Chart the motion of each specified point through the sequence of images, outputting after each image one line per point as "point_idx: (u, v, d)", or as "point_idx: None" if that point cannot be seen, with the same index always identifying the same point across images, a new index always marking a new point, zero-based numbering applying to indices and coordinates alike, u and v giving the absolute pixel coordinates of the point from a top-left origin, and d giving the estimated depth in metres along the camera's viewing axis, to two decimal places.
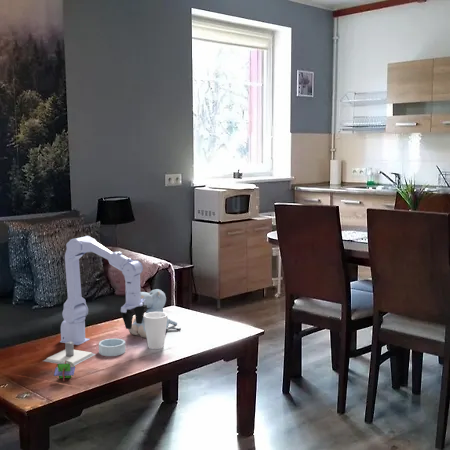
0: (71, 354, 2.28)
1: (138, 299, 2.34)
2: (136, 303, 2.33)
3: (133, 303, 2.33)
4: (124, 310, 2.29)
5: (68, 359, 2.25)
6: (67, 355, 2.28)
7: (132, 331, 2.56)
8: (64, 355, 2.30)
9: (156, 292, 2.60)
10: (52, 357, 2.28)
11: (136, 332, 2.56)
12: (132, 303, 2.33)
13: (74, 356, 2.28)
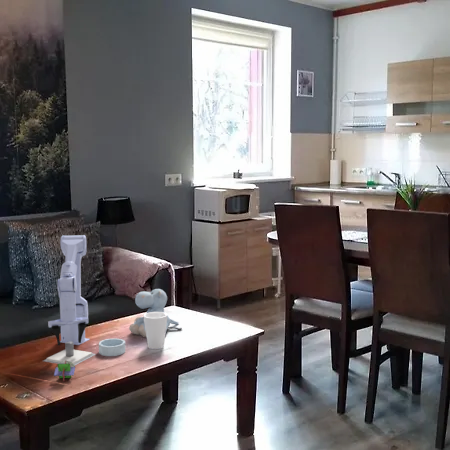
0: (71, 354, 2.28)
1: (67, 317, 2.25)
2: (64, 320, 2.25)
3: (62, 320, 2.25)
4: (48, 325, 2.25)
5: (68, 359, 2.25)
6: (67, 355, 2.28)
7: (133, 330, 2.57)
8: (64, 355, 2.30)
9: (157, 292, 2.61)
10: (52, 357, 2.28)
11: (137, 331, 2.57)
12: (61, 319, 2.26)
13: (74, 356, 2.28)
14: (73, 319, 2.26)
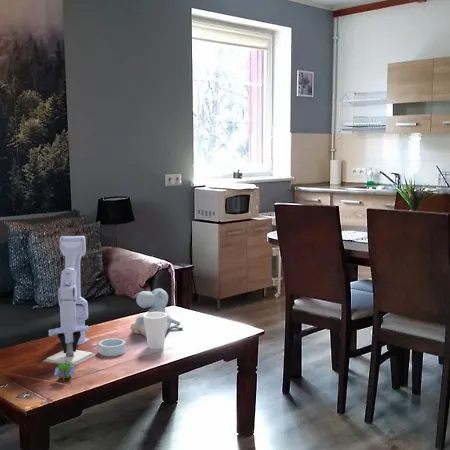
0: (71, 354, 2.28)
1: (67, 325, 2.25)
2: (65, 329, 2.25)
3: (62, 328, 2.26)
4: (49, 333, 2.25)
5: (68, 359, 2.25)
6: (67, 355, 2.28)
7: (134, 330, 2.58)
8: (64, 355, 2.30)
9: (158, 291, 2.62)
10: (52, 357, 2.28)
11: (138, 331, 2.58)
12: (62, 328, 2.26)
13: (74, 356, 2.28)
14: (73, 328, 2.27)
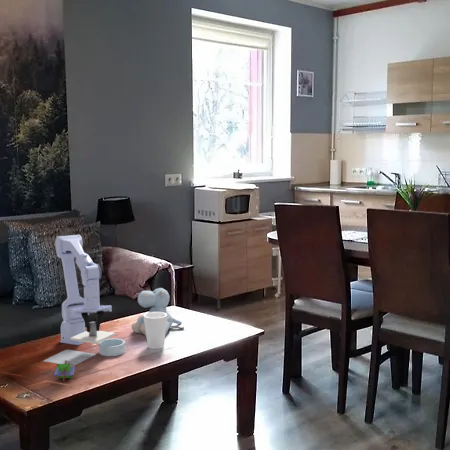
0: (94, 334, 2.31)
1: (91, 304, 2.28)
2: (88, 308, 2.28)
3: (86, 307, 2.29)
4: (73, 312, 2.28)
5: (92, 338, 2.28)
6: (90, 335, 2.31)
7: (135, 329, 2.59)
8: (87, 335, 2.33)
9: (159, 291, 2.62)
10: (76, 337, 2.30)
11: (139, 330, 2.58)
12: (85, 307, 2.29)
13: (97, 336, 2.31)
14: (97, 307, 2.29)
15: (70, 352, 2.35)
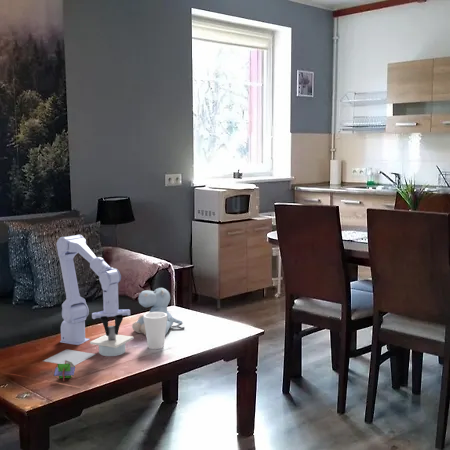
0: (113, 338, 2.34)
1: (110, 308, 2.31)
2: (108, 312, 2.31)
3: (105, 311, 2.32)
4: (92, 316, 2.31)
5: (111, 342, 2.31)
6: (110, 339, 2.34)
7: (135, 329, 2.59)
8: (106, 339, 2.36)
9: (160, 291, 2.63)
10: (95, 341, 2.33)
11: (139, 330, 2.59)
12: (105, 311, 2.32)
13: (116, 340, 2.34)
14: (116, 311, 2.32)
15: (70, 352, 2.35)
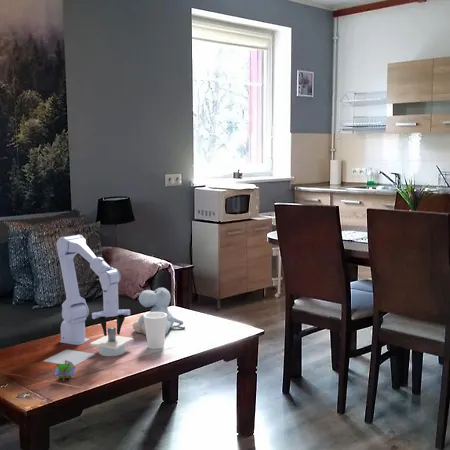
0: (113, 339, 2.34)
1: (110, 308, 2.31)
2: (108, 312, 2.31)
3: (105, 311, 2.32)
4: (92, 316, 2.31)
5: (111, 344, 2.31)
6: (110, 340, 2.34)
7: (136, 328, 2.60)
8: (106, 340, 2.36)
9: (160, 291, 2.63)
10: (95, 342, 2.33)
11: (140, 330, 2.59)
12: (105, 311, 2.32)
13: (116, 341, 2.34)
14: (116, 311, 2.32)
15: (70, 352, 2.35)
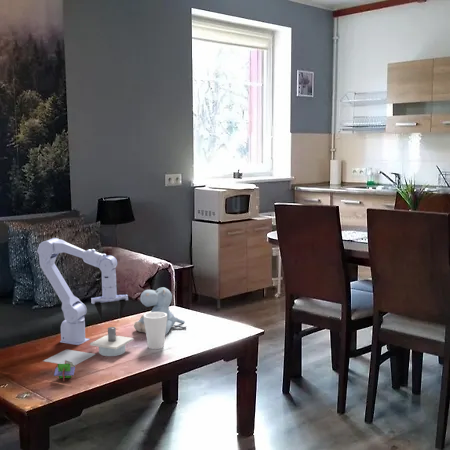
0: (113, 339, 2.34)
1: (109, 294, 2.41)
2: (106, 297, 2.41)
3: (104, 296, 2.42)
4: (91, 301, 2.41)
5: (111, 344, 2.31)
6: (110, 340, 2.34)
7: (137, 328, 2.61)
8: (106, 340, 2.36)
9: (162, 290, 2.64)
10: (95, 342, 2.33)
11: (141, 329, 2.60)
12: (103, 296, 2.42)
13: (116, 341, 2.34)
14: (114, 296, 2.43)
15: (70, 352, 2.35)
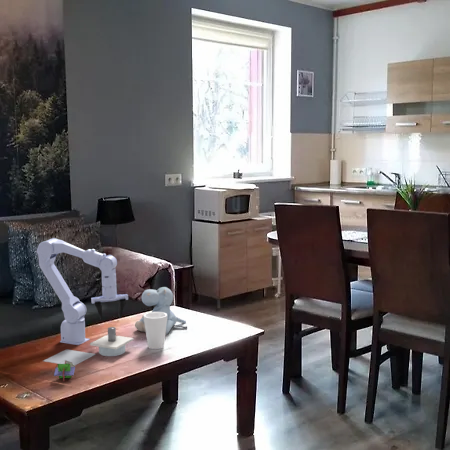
0: (113, 339, 2.34)
1: (109, 293, 2.42)
2: (107, 297, 2.42)
3: (104, 296, 2.42)
4: (92, 301, 2.42)
5: (111, 344, 2.31)
6: (110, 340, 2.34)
7: (138, 327, 2.61)
8: (106, 340, 2.36)
9: (163, 290, 2.64)
10: (95, 342, 2.33)
11: (142, 328, 2.61)
12: (103, 296, 2.43)
13: (116, 341, 2.34)
14: (114, 295, 2.43)
15: (70, 352, 2.35)
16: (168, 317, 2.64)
